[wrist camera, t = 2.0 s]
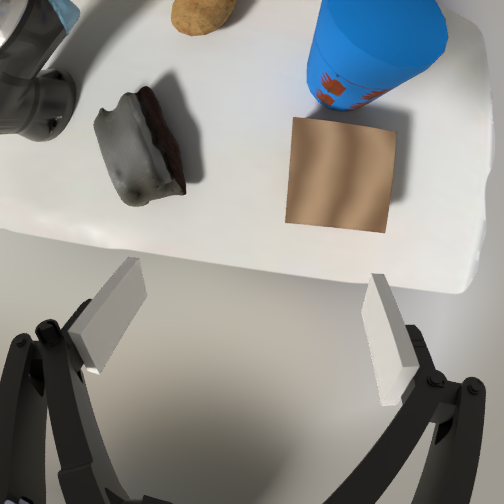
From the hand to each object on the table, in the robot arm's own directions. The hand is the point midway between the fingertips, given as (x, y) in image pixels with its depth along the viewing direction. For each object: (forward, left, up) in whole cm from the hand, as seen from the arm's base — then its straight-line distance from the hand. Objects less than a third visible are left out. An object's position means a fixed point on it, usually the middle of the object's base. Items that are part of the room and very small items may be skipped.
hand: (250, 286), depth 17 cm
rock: (-21, +8, -32) cm, 39 cm away
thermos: (+9, +20, -32) cm, 39 cm away
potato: (-12, +32, -32) cm, 47 cm away
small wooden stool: (+9, +5, -31) cm, 33 cm away
